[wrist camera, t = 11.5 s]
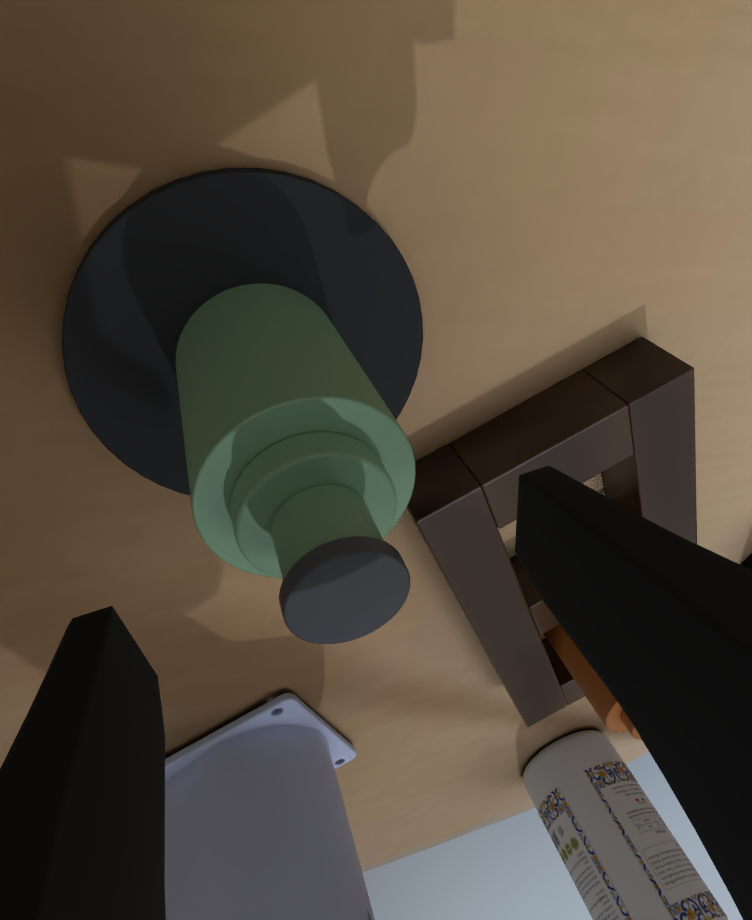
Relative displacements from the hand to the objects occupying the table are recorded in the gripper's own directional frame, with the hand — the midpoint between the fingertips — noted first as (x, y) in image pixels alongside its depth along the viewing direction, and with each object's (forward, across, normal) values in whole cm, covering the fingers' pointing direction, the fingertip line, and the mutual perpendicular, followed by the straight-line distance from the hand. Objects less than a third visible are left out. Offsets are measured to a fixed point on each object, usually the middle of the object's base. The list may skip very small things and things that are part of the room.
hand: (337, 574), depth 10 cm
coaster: (+9, 0, 0) cm, 9 cm away
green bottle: (+8, 0, 0) cm, 8 cm away
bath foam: (+9, -14, +37) cm, 40 cm away
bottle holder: (+9, -11, +13) cm, 19 cm away
